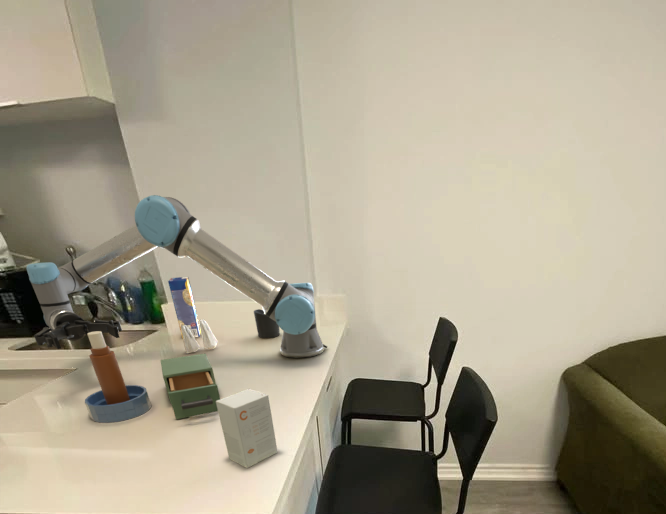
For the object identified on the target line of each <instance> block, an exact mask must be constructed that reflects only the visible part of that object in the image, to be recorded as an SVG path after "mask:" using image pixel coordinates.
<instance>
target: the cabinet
mask: <svg viewBox="0 0 666 514" xmlns="http://www.w3.org/2000/svg"><path fill="white" fill-rule="evenodd" d="M160 366H161V372H162V378H163V382H164V385H165V388H166V392H167V396H168V399H169V402H170V404H171V400H170V397H169V393H168V392H171V388H170V383H169V377H174V376H180V375H186V374H192V373H199V372H205V371H208V372H209V375H210V377H211V379H212V381H213V384H217V383H216V378H215V375H214V374H215V373H214V369H213V367H212V364H211V362H210V359H209V357H208V356H207V354H206V352H205V353H204V352H203V353H198V354H192V355H185V356H179V357H170V358H166V359H165V358H164V359H160Z"/></svg>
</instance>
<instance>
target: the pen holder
mask: <svg viewBox="0 0 666 514" xmlns="http://www.w3.org/2000/svg"><path fill="white" fill-rule="evenodd" d="M253 315H254V321H255V326H256V331H257V335H258V337H259V338H261V339H273V338H277V337H279V336H280V334H281V333H280V331H281V330H280V327H279V325H278V324H277V322H276V321H274V320H273V319H271V318H270V317H268V316H267V315H265V314H264V311H263V309H261V308H260V309H254V310H253Z"/></svg>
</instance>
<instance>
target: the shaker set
mask: <svg viewBox="0 0 666 514" xmlns="http://www.w3.org/2000/svg"><path fill="white" fill-rule="evenodd" d="M198 321H199V325H200V330H201V333H200V335H201V339H202V345H203V348H204V349H206V350H210V351H212V350H214V349H215V348H216V347H217V344H218V343H219V341H218V339H217V337H216V336H215V334H214V332H213V331H212V329H211V327H210V325H209V324H208V322H207V321H206V320H205V319H204V318H202V319H198ZM184 327H185V328H184ZM181 331H182V335H181V337H182V336H183V339H182V340H183V346H184V350H185V354H190V353H195V352H197V351H199V349H201V346H200V344H199V342H198V341H197V340H196V339H197V338H196V337H194V336H193V335H192V333H191V331H190V330H189V328H188V327H187V326H186V325H184V326H183V325H182V326H181ZM181 331H180V332H181Z"/></svg>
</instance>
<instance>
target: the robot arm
mask: <svg viewBox="0 0 666 514" xmlns="http://www.w3.org/2000/svg"><path fill="white" fill-rule="evenodd" d="M134 222H135V223H134V224H135V225H132V226H131V227H129V228H127V229H125V230H124V231H122V232H120V233H119V234H117V235H115V236H113V237H111V238H110V239H108V240H106V241H104V242H103V243H101V244H99V245H97V246H96V247H94V248H92V249H89V250H88V251H87V252H85V253H83V254H81V255H80V256H77V257H76V258H74V259H73V260H71V261H69V262H67V263H65V264H63V265H61V266H57V264H56V263H54V262H49V261H47V262H35V263H29V264H27V265H26V268H25V269H26V272H27V274H28V279H29V282H30V284H31V286H32V289H33V290H34V293H35V295H36V298H37V300H38V302H39V305H40V309H41V311H42V313H43V320H44V322H45V324H46V326H45V327H43V328H42V330H40V331H39V332H37V333H36V334H33V337H34V339H35V342H36V344H37V346H40V347H41V346H43V345H45V344H46V346H47V348H53V347H54V348H56V349H57V350H61V349H62V347H61V343H60V341H61V340H67V341H71V342H75V341H80V340H82V339H83V338H85V336H88V335H87V334H88V333H90V332H95V331H101V332H102V334H109V335H110V336H112V337H114V338H115V339H119V338H120V334H119V333H120V332H122V331H123V328H122V325H121V322H120V321H118V320H113V319H111V320H105V319H104V320H103V319H98V318H96V319H94V320H93V322H92V321H90V320H85V319H83V318H82V317H81V316H80V315H78V314H77V313H75V312H74V311H73V310H74V309H73V307H72V303H71V301H70V299H69V296H68V295H69V294H73V293H75V292H81V291H83V290H85V289H86V288H87V287H89V286H90V285H92V284H93V283H95V282H97V281H98V280H100V279H102V278H104V277H105V276H107V275H109V274H111V273H113V272H115V271H117V270H118V269H120V268H122V267H124V266H126V265H128V264H130V263H131V262H133V261H135V260H137V259H138V258H140V257H143V256H144V255H146V254H148V253H150V252H152V251H153V250H155V249H158V248H160V249H165V250H166V251H168V252H170V253H171V254H173V255H174V256H176V257H177V258H178V259H182V258H188V259H190V260H191V261H193V262H195V263H196V264H198V265H199V266H201V267H202V268H204V269H205V270H207V271H208V272H210V273H211V274H212V275H214V276H215V277H217V278H219V279H220V280H221V281H223V282H225V283H226V284H227V285H229V286H231V287H232V288H234V289H235V290H236V291H238V292H239V293H240V294H243V295H244V296H245V297H247V298H248V299H250V300H252V301H253V302H255V303H256V304H258V305H259V306H261V308H262V310H263V311H264V314H265V315H267V316H268V317H270V318H271V319H273V320H274V321H276V322H277V324H278V325H279V329H281V331H282V336H281V341H280V342H281V343H280V348H279V351H280V355H281V356H283V357H286V358H292V359H303V358H304V359H305V358H311V357H315V356H318V355H321V354H322V353H323V352H324V351H325V349H328V346H327V345H325V344H324V343H323V341H322V338H321V335H320V334H319V333H320V332H318V327H317V318H316V316H317V315H316V306H315V305H316V304H315V290H314V286H313V284H312V283H311V282H298V283H297V282H296V283H289V282H287V281H286V280H280V281H277V280H275V279H274V278H273V277H271V276H269V275H268V274H267V273H265V272H264V271H262V270H261V269H259V268H258V267H257V266H255V265H254V264H253V263H251V262H250V261H248V260H246V258H244V257H242V256H241V255H240V254H238V253H237V252H235V251H234V250H232V248H230V247H228V246H226V244H224V243H223V242H220V241H219V240H218V239H216V238H215V237H214V236H212V235H210V234H209V233H208V232H207V231H205V230H204V229H203V228H202V226H201V223H200V220H199V219H197V218H196V217H194V215H192V214H191V212H190V210H189V209H188V207H187V206H186V205H185V204H184V203H183V202H181V201H180V200H178V199H177V198H174V197H170V196H161V195H157V194H153V195H149V196H146V197H144V198H141V200H140V201H139V202H138V203H137V205H136V207H135V209H134ZM324 348H325V349H324Z"/></svg>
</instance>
